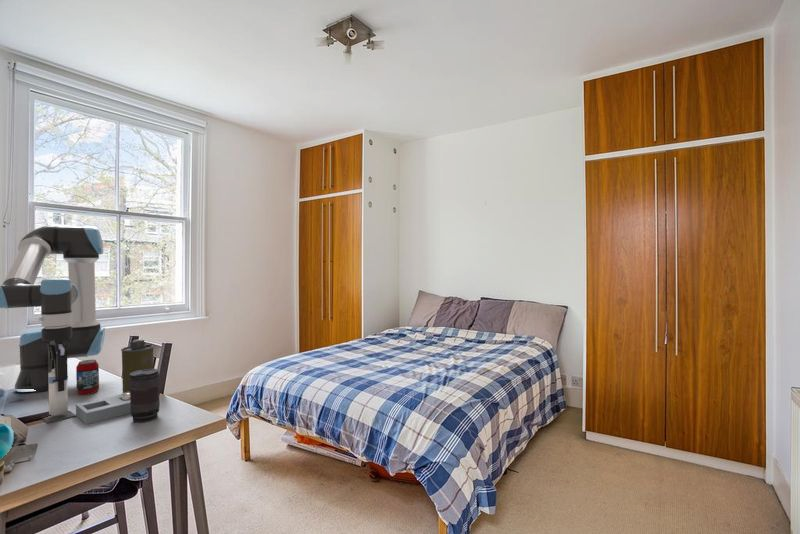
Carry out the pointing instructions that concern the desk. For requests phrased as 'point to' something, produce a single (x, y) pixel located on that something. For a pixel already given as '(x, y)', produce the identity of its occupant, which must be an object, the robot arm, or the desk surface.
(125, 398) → the plunger
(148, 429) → the desk surface
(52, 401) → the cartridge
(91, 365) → the beverage can
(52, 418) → the mat
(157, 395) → the camera lens
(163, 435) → the desk surface
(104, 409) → the block
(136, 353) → the canister
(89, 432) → the desk surface
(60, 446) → the desk surface
